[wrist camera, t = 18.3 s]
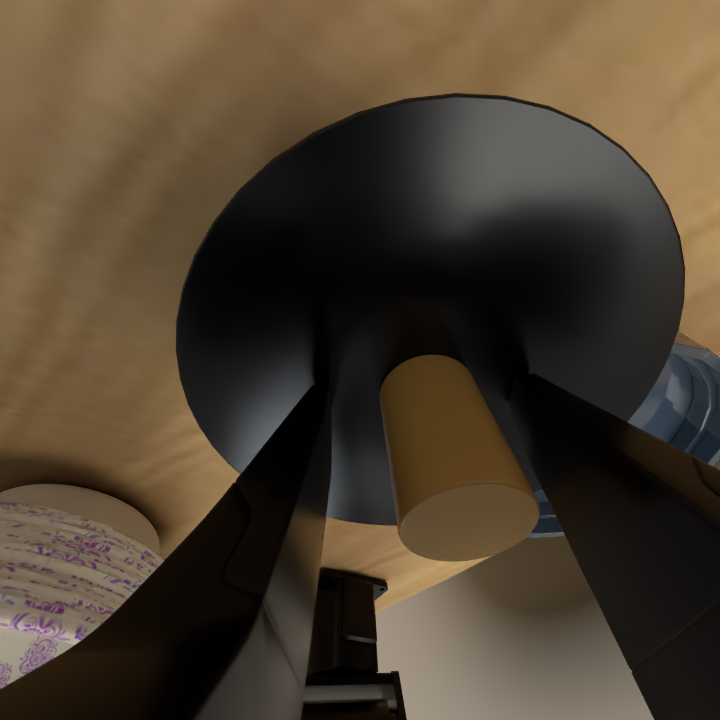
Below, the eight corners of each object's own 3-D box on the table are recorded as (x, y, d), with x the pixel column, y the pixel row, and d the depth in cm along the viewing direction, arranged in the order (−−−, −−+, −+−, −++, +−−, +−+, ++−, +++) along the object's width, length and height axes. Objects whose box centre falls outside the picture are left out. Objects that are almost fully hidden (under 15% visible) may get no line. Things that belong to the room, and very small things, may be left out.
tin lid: (457, 527, 14) (500, 674, 10) (150, 438, 11) (41, 612, 7) (752, 280, 9) (1092, 403, 5) (305, -88, 5) (176, -864, 1)
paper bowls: (1, 572, 27) (-111, 715, 20) (-103, 436, 19) (-347, 602, 12) (203, 581, 29) (162, 713, 22) (189, 462, 21) (118, 616, 14)
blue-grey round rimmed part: (557, 522, 26) (576, 556, 24) (392, 467, 22) (398, 502, 20) (757, 384, 19) (807, 415, 17) (573, 262, 15) (610, 283, 13)
